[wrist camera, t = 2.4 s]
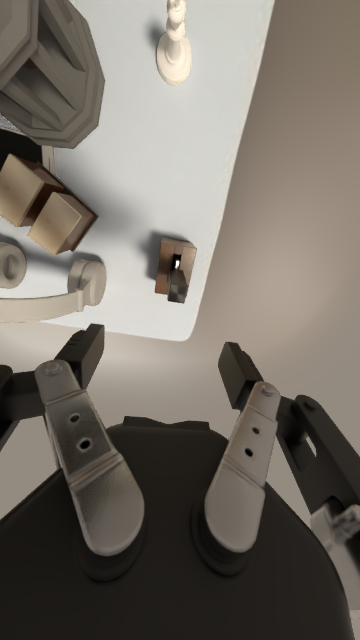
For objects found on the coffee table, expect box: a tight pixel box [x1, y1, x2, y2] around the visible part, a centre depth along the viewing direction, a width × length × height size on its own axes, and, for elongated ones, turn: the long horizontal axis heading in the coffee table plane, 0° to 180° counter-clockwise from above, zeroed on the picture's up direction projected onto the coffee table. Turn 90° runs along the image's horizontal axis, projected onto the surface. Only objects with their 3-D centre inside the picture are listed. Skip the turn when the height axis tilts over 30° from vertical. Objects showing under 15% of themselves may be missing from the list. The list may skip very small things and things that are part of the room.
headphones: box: [0, 241, 106, 323], centre depth 31 cm, size 20×8×19 cm, turn 76°
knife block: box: [155, 237, 197, 298], centre depth 38 cm, size 9×6×7 cm, turn 169°
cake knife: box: [168, 254, 188, 303], centre depth 33 cm, size 5×2×18 cm, turn 169°
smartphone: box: [0, 126, 55, 176], centre depth 31 cm, size 7×16×1 cm, turn 77°
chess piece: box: [157, 0, 192, 85], centre depth 23 cm, size 5×5×10 cm
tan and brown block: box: [0, 154, 99, 255], centre depth 32 cm, size 9×11×7 cm
